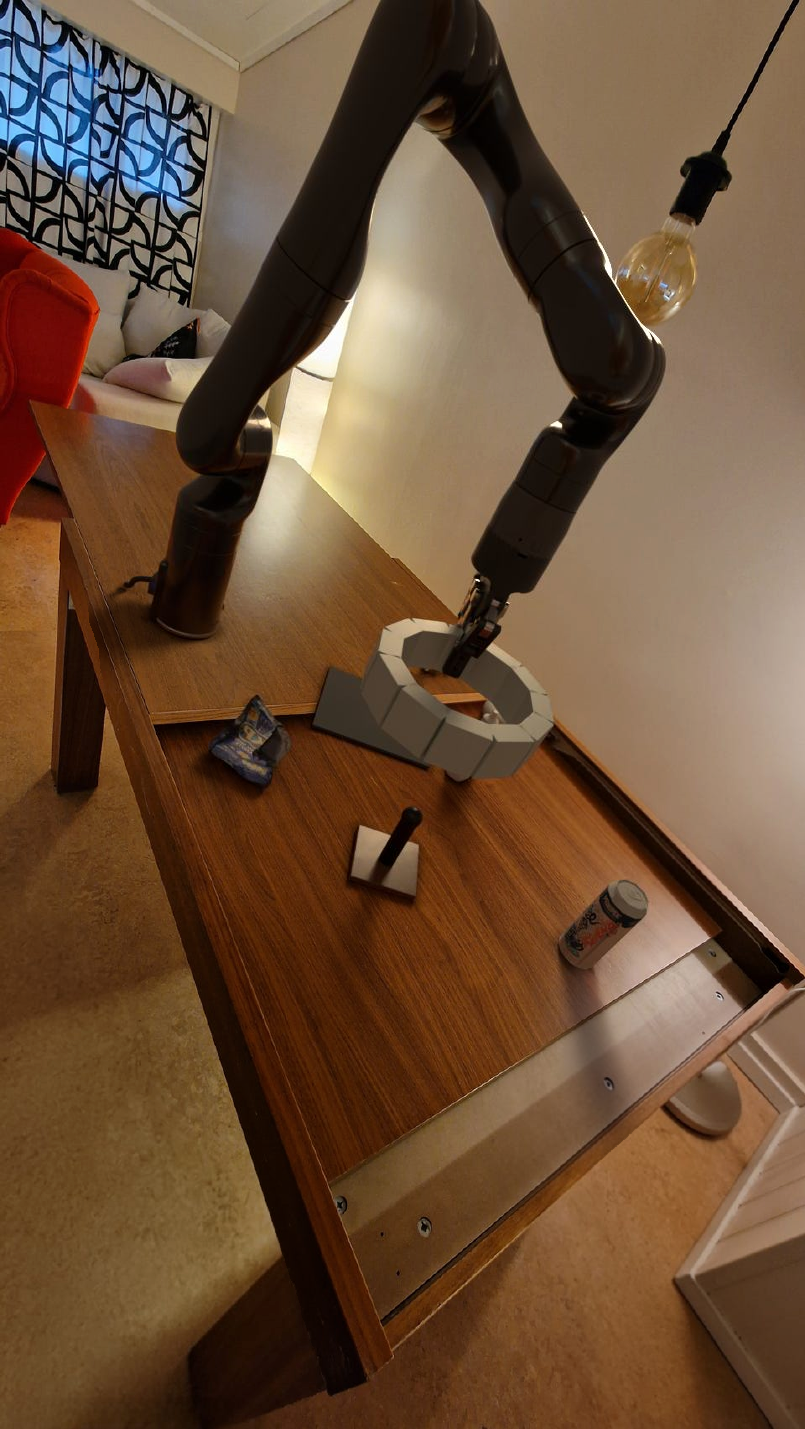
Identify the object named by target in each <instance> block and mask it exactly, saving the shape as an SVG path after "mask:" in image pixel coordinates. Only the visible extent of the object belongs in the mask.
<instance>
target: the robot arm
mask: <svg viewBox="0 0 805 1429" xmlns="http://www.w3.org/2000/svg"><path fill="white" fill-rule="evenodd" d="M414 124H415V125H416V126H418V127H419V128H420V129H421V130H422V131H424V132H425V133H427V134H429V135H432V136H433V137H434V138H435V139H436V140H437V141H438V142H439V143H440V144H441V145H442V146H443V147H444V149H445V150H446V151H447V152H448V153H449V154H450V155H451V156H452V158H453V159H454V160H455V161H456V162H457V164H458V165H459V167H461V168H462V170H463V172H464V173H465V174H466V175H467V176H468V178H469V180H470V181H471V183H472V184H473V186H474V188H475V189H476V191H477V193H478V195H479V197H480V199H481V202H482V204H483V206H484V209H485V212H486V214H487V216H488V220H489V224H490V228H491V230H492V233H493V237H494V239H495V241H496V245H497V247H498V249H499V252H500V254H501V256H502V258H503V261H504V262H505V264H506V267H507V268H508V270H509V272H510V274H511V275H512V277H513V279H514V281H515V283H516V285H517V287H518V288H519V290H520V292H521V294H522V295H523V297H524V299H525V300H526V302H527V304H528V306H529V307H530V309H531V311H532V312H533V314H534V315H535V317H536V319H538V321H539V323H540V326H541V329H542V333H543V336H544V339H545V341H546V344H547V347H548V349H549V353H550V355H551V357H552V359H553V362H554V365H555V367H556V369H557V372H558V373H559V375H560V378H561V379H562V381H563V382H564V384H565V386H566V387H567V389H568V391H569V392H570V393H571V394H572V397H571V399H570V401H569V402H568V404H567V406H566V407H565V409H564V410H563V412H562V413H561V415H560V416H559V418H557V420H556V421H554V422H552V423H550V424H548V425H546V426H544V427H543V428H542V429H541V430H540V431H539V433H537V435H536V437H535V438H534V439H533V440H532V443H531V445H530V446H529V448H528V450H527V452H526V454H525V456H524V458H523V460H522V461H521V464H520V466H519V468H518V470H517V472H516V474H515V476H514V478H513V479H512V481H511V483H510V484H509V486H508V487H507V489H506V490H505V491H504V493H503V494H502V496H501V497H500V499H499V501H498V503H497V505H496V507H495V509H494V511H493V513H492V515H491V517H490V518H489V520H488V522H487V524H486V526H485V528H484V530H483V532H482V534H481V536H480V538H479V540H478V542H477V544H476V546H475V548H474V550H473V552H472V553H471V556H470V562H471V564H472V567H473V568H474V570H475V571H476V573H474V575H473V578H472V581H471V584H470V586H469V588H468V591H467V593H466V595H465V598H464V600H463V603H462V605H461V608H460V610H459V611H458V613H457V615H456V616H457V617H456V620H458V621H457V623H456V624H455V625H454V626H456V627H459V628H461V629H462V630H461V632H460V634H459V636H458V638H457V640H456V641H455V645H454V647H453V649H452V650H451V652H450V654H449V656H448V658H447V660H446V661H445V663H444V665H443V667H442V672H443V673H442V672H441V673H442V674H443V675H445V676H448V677H451V678H453V679H457V678H459V677H460V676H461V674H462V672H463V670H464V669H465V667H466V665H467V663H468V661H469V660H470V658H471V656H472V657H474V658H476V659H478V658H479V657H480V656H481V654H482V653H483V652H484V651H485V650H486V649H487V648H488V646H489V645H490V644H491V643H493V642H494V641H495V640H496V639H497V637H498V636H499V635H500V634H501V632H502V625H501V624H498V622H499V621H500V620H501V619H502V618H504V616H505V614H507V611H508V609H509V607H510V602H509V599H510V596H511V595H512V594H522V595H525V594H529V593H530V594H531V592H533V591H534V590H535V588H536V587H537V586H538V584H539V581H540V580H541V578H542V577H543V575H544V573H545V572H546V570H547V568H548V567H549V565H550V563H551V562H552V560H553V559H554V557H555V555H556V553H557V552H558V550H559V548H560V547H561V545H562V543H563V542H564V540H565V538H566V536H567V535H568V533H569V531H570V528H571V525H572V523H573V521H574V519H575V517H576V515H577V513H578V511H579V510H580V508H581V506H582V505H583V503H584V501H585V500H586V498H587V496H588V494H589V493H590V491H591V490H592V487H593V486H594V485H595V483H596V480H597V479H598V477H599V475H600V473H601V471H602V469H603V468H604V466H605V465H606V463H607V462H608V461H609V460H610V458H611V457H612V456H613V455H614V454H615V452H616V451H617V450H618V449H619V448H620V446H622V444H623V443H624V441H625V440H626V439H627V437H628V436H629V435H630V434H631V432H633V430H634V429H635V428H636V426H637V425H638V423H639V422H640V420H641V419H642V418H643V417H644V415H645V414H646V412H647V411H648V410H649V408H650V406H651V404H652V403H653V401H654V399H655V398H656V396H657V394H658V392H659V390H660V387H661V385H662V384H663V381H664V377H665V373H666V367H667V356H666V351H665V348H664V345H663V343H662V341H661V339H660V338H659V337H658V336H657V335H656V334H655V333H654V332H652V331H651V330H650V329H648V328H647V327H645V326H644V325H643V324H642V323H641V322H640V320H639V319H638V317H637V316H636V315H635V313H634V312H633V310H632V309H631V307H630V306H629V305H628V303H627V301H626V300H625V298H624V296H623V295H622V293H621V291H620V289H619V287H618V286H617V284H616V283H615V281H614V279H613V278H612V275H613V274H612V267H611V263H610V261H609V258H608V256H607V253H606V252H605V249H604V248H603V245H602V244H601V242H600V240H599V239H598V237H597V235H596V233H595V232H594V229H593V228H592V227H591V225H590V223H589V221H588V219H587V217H586V216H585V214H584V212H583V210H582V209H581V207H580V206H579V204H578V202H577V201H576V200H575V198H574V196H573V194H572V192H571V191H570V189H569V188H568V187H567V185H566V183H565V181H564V180H563V179H562V177H561V176H560V174H559V173H558V171H557V169H556V168H555V167H554V165H553V163H552V162H551V160H550V159H549V158H548V156H547V154H546V153H545V151H544V150H543V148H542V146H541V144H540V142H539V141H538V139H537V136H536V135H535V133H534V131H533V129H532V126H531V124H530V123H529V120H528V118H527V115H526V112H525V111H524V108H523V107H522V104H521V101H520V98H519V96H518V92H517V90H516V87H515V84H514V81H513V78H512V76H511V73H510V70H509V66H508V63H507V62H506V58H505V55H504V52H503V49H502V45H501V42H500V40H499V37H498V33H497V31H496V28H495V25H494V22H493V21H492V18H491V16H490V15H489V13H488V12H487V10H486V9H485V7H484V6H483V4H482V3H481V1H480V0H379V2H378V4H377V6H376V9H375V10H374V13H373V16H372V18H371V20H370V22H369V23H368V27H367V29H366V32H365V34H364V36H363V39H362V41H361V44H360V47H359V49H358V51H357V54H356V56H355V59H354V62H353V65H352V67H351V70H350V73H349V75H348V78H347V80H346V83H345V85H344V88H343V90H342V94H341V96H340V97H339V101H338V103H337V106H336V108H335V111H334V113H333V116H332V118H331V121H330V123H329V126H328V127H327V131H326V133H325V135H324V137H323V139H322V141H321V143H320V146H319V148H318V150H317V152H316V154H315V157H314V159H313V161H312V163H311V165H310V167H309V169H308V171H307V174H306V175H305V177H304V180H303V183H302V184H301V186H300V189H299V191H298V193H297V195H296V197H295V199H294V201H293V203H292V205H291V207H290V209H289V210H288V213H287V215H286V216H285V218H284V220H283V222H282V224H281V225H280V228H279V229H278V231H277V233H276V235H275V237H274V239H273V241H272V243H271V245H270V247H269V249H268V251H267V253H266V254H265V257H264V259H263V261H262V263H261V265H260V268H259V270H258V272H257V275H256V277H255V279H254V281H253V283H252V286H251V287H250V290H249V291H248V294H247V295H246V298H245V299H244V301H243V303H242V304H241V306H240V308H239V311H238V313H237V314H236V316H235V317H234V320H233V321H232V324H231V326H230V327H229V329H228V331H227V334H226V335H225V337H224V339H223V341H222V343H221V344H220V347H219V348H218V350H217V352H215V355H214V356H213V358H212V360H210V361H211V362H209V364H208V365H207V367H206V369H205V370H204V372H203V374H202V375H201V376H200V378H199V379H198V381H197V383H196V384H195V385H194V386H193V389H192V390H191V391H190V393H189V394H188V396H187V397H186V400H185V401H184V403H183V405H182V407H181V409H180V411H179V414H178V417H177V421H176V425H175V446H176V449H177V452H178V455H179V457H180V460H181V461H182V462H183V464H184V465H185V466H186V467H187V468H188V469H189V470H191V471H193V473H196V474H199V475H198V476H197V477H195V478H194V479H193V480H191V481H190V482H188V483H186V484H185V485H183V486H182V487H181V488H180V489H179V490H178V493H177V496H176V501H175V505H174V511H173V517H172V522H171V527H170V531H169V532H170V533H169V537H168V542H167V548H166V552H165V557H164V558H163V559H162V560H160V562H159V564H158V569H157V570H156V572H154V573H153V575H152V576H150V575H149V576H147V575H137V576H133V577H131V578H130V579H129V581H124V582H123V585H122V586H123V587H124V588H126V589H132V588H133V587H134V586H135V584H137V583H148V585H147V586H148V587H147V594H148V595H150V596H152V601H151V606H150V611H149V612H150V613H149V617H148V619H149V620H151V621H153V622H155V623H156V624H157V625H158V626H159V627H161V629H163V630H165V631H166V632H168V633H170V634H171V635H172V634H173V635H175V636H178V637H181V638H185V639H191V640H192V639H193V640H201V639H207V638H210V637H212V636H214V635H215V634H216V633H217V631H218V629H219V622H220V620H221V616H222V612H223V611H224V609H225V607H226V606H225V599H226V595H227V592H228V588H229V584H230V580H231V576H232V573H233V569H234V565H235V561H236V557H237V553H238V551H239V546H240V543H241V538H242V535H243V531H244V527H245V524H246V521H247V519H249V517H250V516H251V515H252V514H253V512H254V510H255V508H256V506H257V503H258V500H259V498H260V494H261V491H262V489H263V485H264V482H265V479H266V476H267V473H268V470H269V466H270V462H271V460H272V455H273V449H274V448H273V447H274V433H273V432H274V431H273V427H272V423H271V420H270V417H269V416H268V414H267V412H266V410H265V409H264V408H263V407H262V406H261V405H259V403H260V402H261V400H262V398H264V396H265V395H266V394H267V392H268V391H269V390H270V389H271V388H272V387H273V386H274V385H275V384H277V382H278V381H280V380H281V379H282V378H283V377H284V376H285V375H287V374H288V373H290V372H291V371H292V370H293V369H294V368H296V367H297V366H298V365H299V364H301V363H302V362H303V361H305V360H306V359H307V358H309V356H310V355H312V354H313V353H314V352H315V351H317V349H318V348H319V347H320V346H321V345H323V343H324V342H325V340H326V339H327V338H328V337H329V335H330V334H331V333H332V331H333V330H334V329H335V327H336V326H337V323H338V322H339V320H340V319H341V318H342V315H343V314H344V312H345V311H346V309H347V308H348V306H349V304H350V302H351V300H352V299H353V297H354V296H355V294H356V292H357V289H358V288H359V286H360V284H361V281H362V278H363V276H364V271H365V267H366V264H367V258H368V253H369V246H370V241H371V234H372V233H371V232H372V226H373V218H374V213H375V207H376V202H377V199H378V194H379V191H380V188H381V185H382V183H383V180H384V178H385V175H386V173H387V171H388V168H389V167H390V165H391V163H392V161H393V159H394V157H395V155H396V154H397V152H398V150H399V148H400V147H401V144H402V142H403V141H404V139H405V138H406V135H407V134H408V132H409V131H410V130H411V128H412V127H413V125H414Z"/></svg>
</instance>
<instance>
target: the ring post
mask: <svg viewBox="0 0 805 1429" xmlns="http://www.w3.org/2000/svg"><path fill="white" fill-rule="evenodd" d="M423 817H424V816H423V813H422V811H421V809H420V808H419V807H416V806H414V805H413V806H407V807H405V808H404V809H403V810H402V812H401V814H400V818H399V821H398V822H397V823H396V826H395V827H394V829H393V831H392V832H391V834H388V833H386V832H382V831H379V830H376V829H374V828H370V827H367V826H364V825H362V824H358V825H357V828H356V834H355V839H354V845H353V849H352V850H353V851H352V856H351V861H350V868H349V873H348V874H349V875H348V880H349V881H351V882H355V883H357V884H360V885H364V886H366V887H369V888H374V889H376V890H380V891H383V892H386V893H388V894H391V895H394V896H398V897H401V898H405V899H408V900H411V901H415V899H416V898H417V888H418V871H419V853H420V844H418V843H414V842H411V841H409V840H410V839H411V837H412V835H413V833H414V832H415V830H416V828H417V827H419V826H421V824H422V822H423V819H424V818H423Z"/></svg>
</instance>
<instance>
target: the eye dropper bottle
mask: <svg viewBox="0 0 805 1429" xmlns="http://www.w3.org/2000/svg"><path fill="white" fill-rule="evenodd" d="M497 715H498V711H496V710H494V711H493V712H492V713H491V714H484V716H483V715H482V717H481V719H480V721H482V722H484V723H487V724H499V721H498V719H497ZM445 771H446V774H447V776H449V777H450V778H451V779H453V780H454V781H455V782H462V781H465V780H467V779H468V778H466V777H463V776H460V775H458V774H455V773H452V772H450V771H447V770H445Z"/></svg>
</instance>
